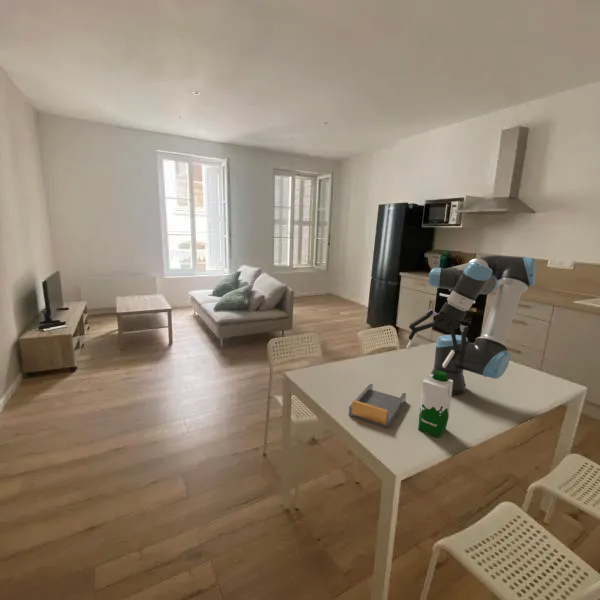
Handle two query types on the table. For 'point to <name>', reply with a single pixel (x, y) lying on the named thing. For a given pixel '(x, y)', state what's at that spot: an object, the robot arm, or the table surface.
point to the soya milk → (435, 403)
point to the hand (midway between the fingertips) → (425, 357)
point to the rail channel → (377, 407)
